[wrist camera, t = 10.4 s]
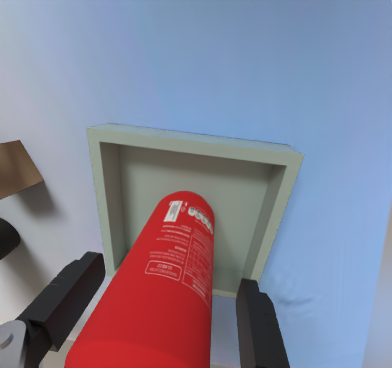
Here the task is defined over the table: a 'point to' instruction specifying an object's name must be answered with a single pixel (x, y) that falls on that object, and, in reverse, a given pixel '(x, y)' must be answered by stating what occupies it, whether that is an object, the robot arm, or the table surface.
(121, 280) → the beverage can
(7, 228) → the drinking cup
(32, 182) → the walnut block
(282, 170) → the tray
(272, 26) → the table surface
